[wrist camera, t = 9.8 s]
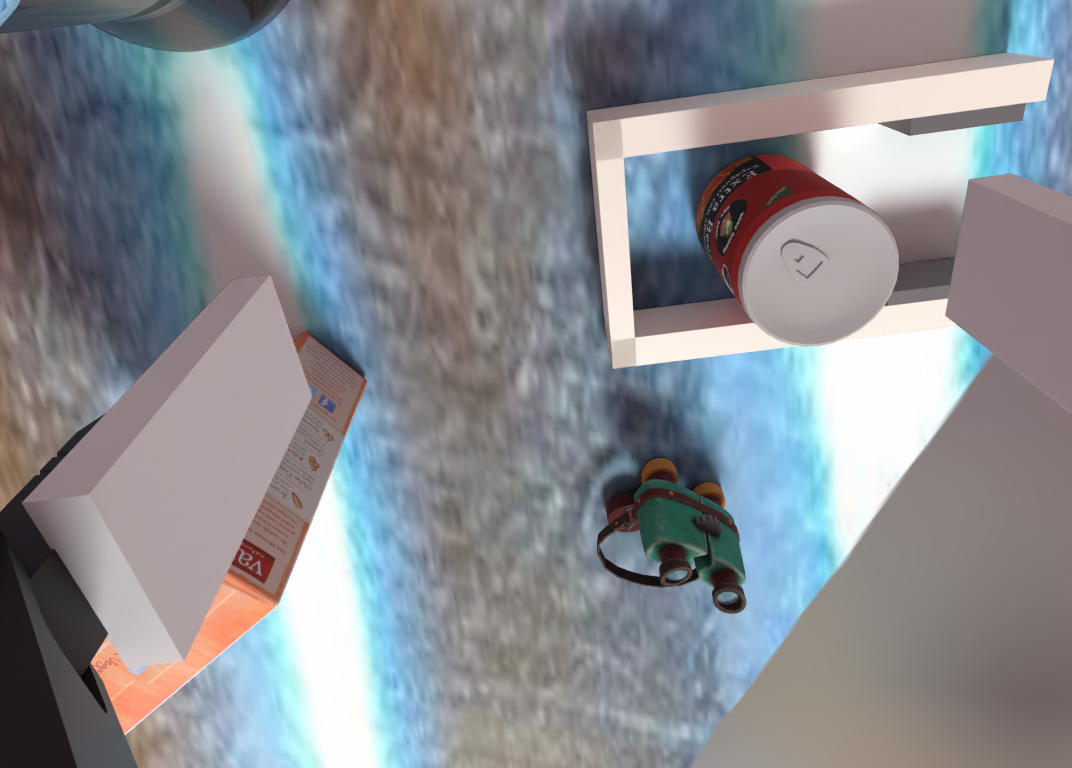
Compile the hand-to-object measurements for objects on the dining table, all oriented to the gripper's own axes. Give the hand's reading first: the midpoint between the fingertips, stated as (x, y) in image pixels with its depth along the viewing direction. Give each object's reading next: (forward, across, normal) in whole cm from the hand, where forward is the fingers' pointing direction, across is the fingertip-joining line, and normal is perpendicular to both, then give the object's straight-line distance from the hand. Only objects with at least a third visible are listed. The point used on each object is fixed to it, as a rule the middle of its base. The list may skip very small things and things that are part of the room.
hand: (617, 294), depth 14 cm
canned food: (+31, +12, -9) cm, 34 cm away
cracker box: (+31, -22, -19) cm, 42 cm away
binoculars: (+31, +5, -32) cm, 45 cm away
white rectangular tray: (+31, +14, -9) cm, 35 cm away
